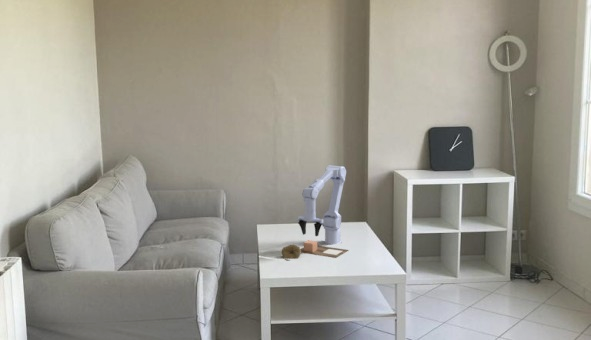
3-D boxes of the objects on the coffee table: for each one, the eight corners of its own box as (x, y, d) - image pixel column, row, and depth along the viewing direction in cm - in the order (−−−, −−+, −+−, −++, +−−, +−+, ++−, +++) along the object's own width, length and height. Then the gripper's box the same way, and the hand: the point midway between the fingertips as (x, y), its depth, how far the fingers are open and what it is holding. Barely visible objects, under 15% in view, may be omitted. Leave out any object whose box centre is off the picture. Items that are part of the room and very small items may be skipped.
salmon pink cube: (308, 248, 326) (308, 240, 325) (317, 249, 323) (317, 241, 322) (303, 250, 321) (303, 242, 320) (312, 252, 318) (312, 243, 318)
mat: (329, 249, 323) (329, 248, 323) (342, 251, 319) (342, 250, 319) (322, 253, 316) (322, 252, 316) (335, 255, 312) (335, 254, 312)
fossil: (279, 247, 311) (298, 242, 313) (280, 251, 315) (298, 246, 316) (284, 261, 306) (303, 256, 308) (284, 266, 310) (303, 260, 311)
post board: (309, 246, 334) (309, 238, 333) (349, 251, 322) (349, 243, 321) (295, 253, 320) (295, 245, 319) (335, 259, 308) (335, 251, 307)
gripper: (294, 210, 319) (294, 235, 321) (318, 212, 312) (319, 238, 314) (301, 207, 325) (301, 232, 327) (325, 210, 318) (325, 235, 320)
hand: (310, 235), depth 321 cm, fingers open, 7 cm apart
